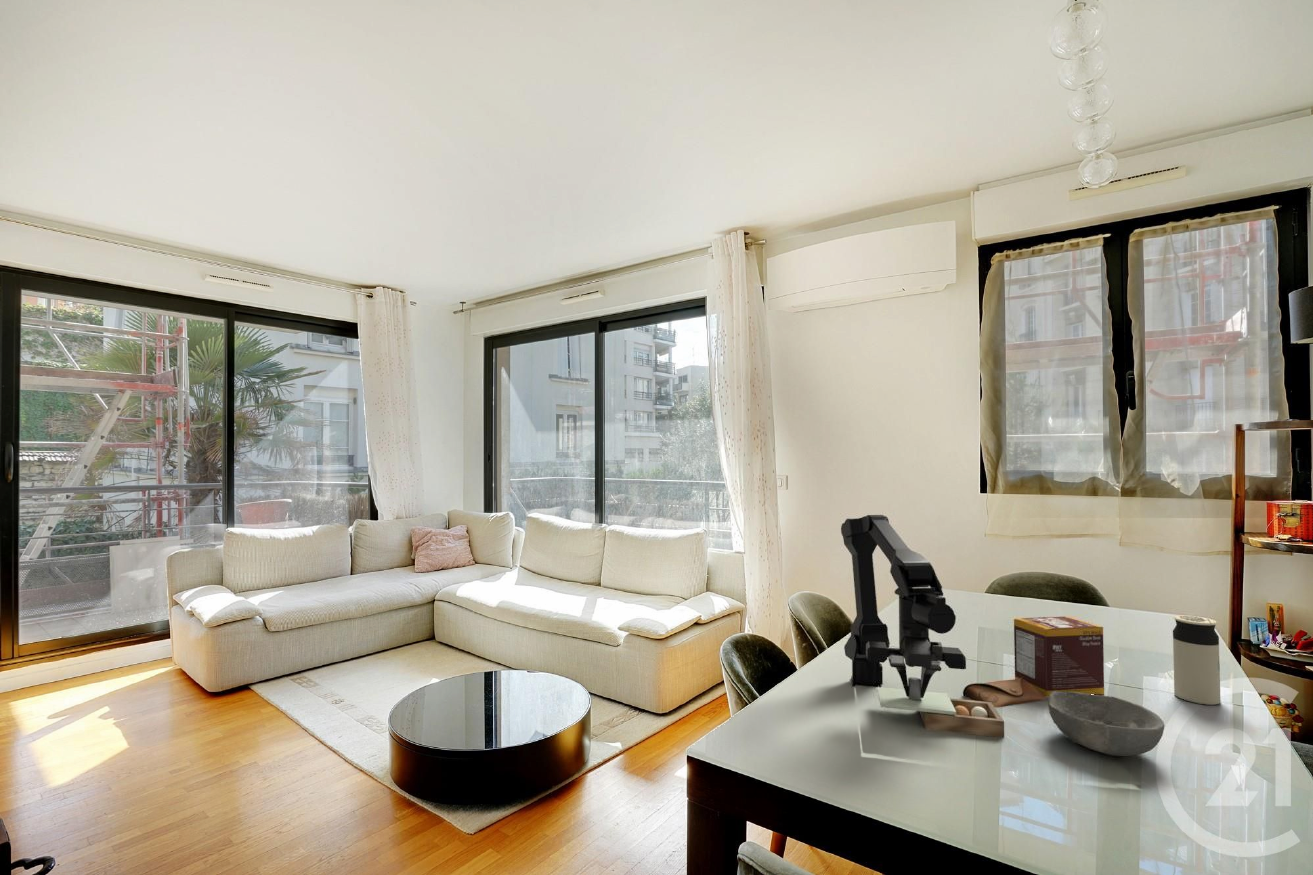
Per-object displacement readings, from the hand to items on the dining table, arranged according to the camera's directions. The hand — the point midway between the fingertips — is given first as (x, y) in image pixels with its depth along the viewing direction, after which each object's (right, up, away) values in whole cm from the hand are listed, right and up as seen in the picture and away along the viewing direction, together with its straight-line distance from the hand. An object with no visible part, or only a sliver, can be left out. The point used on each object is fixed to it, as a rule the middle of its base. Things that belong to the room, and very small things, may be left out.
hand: (914, 696), depth 130 cm
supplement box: (+42, -6, +19) cm, 47 cm away
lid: (0, -1, 0) cm, 1 cm away
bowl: (+30, -5, -13) cm, 33 cm away
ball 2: (+12, -4, -2) cm, 13 cm away
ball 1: (+9, -4, -2) cm, 10 cm away
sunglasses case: (+26, -6, +11) cm, 29 cm away
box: (+8, -5, -2) cm, 10 cm away
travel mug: (+69, -6, +13) cm, 71 cm away
